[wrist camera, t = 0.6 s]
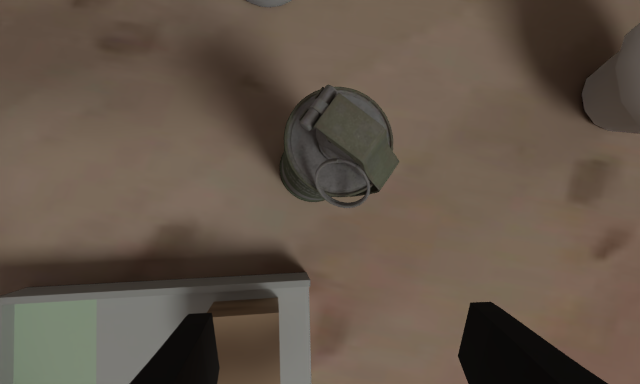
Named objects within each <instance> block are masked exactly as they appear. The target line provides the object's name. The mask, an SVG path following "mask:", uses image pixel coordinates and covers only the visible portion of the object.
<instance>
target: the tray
mask: <svg viewBox="0 0 640 384" xmlns="http://www.w3.org/2000/svg"><path fill="white" fill-rule="evenodd" d="M309 286H310V279H309V277H308V275H307V273H306V272H303V273H285V274H266V275H248V276H229V277H211V278H192V279H174V280H156V281H137V282H119V283H100V284H82V285H63V286H45V287H27V288H24V289H21V290H18V291H15V292H11V293H8V294H5V295H2V296H0V384H129V383H130V382H131V381H132V380H133V379H134V378H135V377H136V375H137V374H138V373H139V372H140V371H141V370H142V369H143V367H144V366H145V365H146V364H147V363H148V362H149V361H150V359H151V358H152V357H153V356H154V355H155V353H156V352H157V351H158V350H159V349H160V347H161V346H162V345H163V344H164V343H165V341H166V340H167V339H168V338H169V336H170V335H171V334H172V333H173V332H174V330H175V329H176V328H177V327H178V325H179V324H180V323H181V322H182V320H183V319H184V318H185V317H186V316H187V315H188V314H193V313H207V312H208V310H209V308H210V307H211V305H212V304H213V302H215V301H231V300H246V299H262V298H277V297H278V304H279V340H280V384H311V354H310V314H309Z"/></svg>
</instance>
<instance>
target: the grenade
mask: <svg viewBox="0 0 640 384" xmlns="http://www.w3.org/2000/svg"><path fill="white" fill-rule="evenodd" d="M398 163H399V160H398V159H397V157H396V156H395V154H394V153H393V135H392V130H391V127H390V124H389V121H388V119H387V117H386V115H385V113H384V112H383V111H382V109H381V108H380V107H379V105H378V104H377V103H376V102H375V101H373V100H372V99H371V98H370V97H368V96H367V95H365V94H363V93H361V92H359V91H357V90H354V89H350V88H345V87H332V86H331V85H327V86H326V87H325V88H324V87H322V88H321V89H320V90H318V91H315V92H313V93H311V94H309V95H308V96H306V97H305V98H304V99H303V100H301V101H300V102H299V103H298V104H297V106H296V107H295V108H294V110H293V111H292V113H291V115H290V116H289V119H288V121H287V124H286V127H285V132H284V153H283V155H282V157H281V161H280V175H281V179H282V181H283V184H284V185H285V187H286V188H287V190H288V191H289V192H290V193H291V194H292V195H294V196H295V197H297V198H299V199H301V200H304V201H308V202H319V201H323V200H326V201H328V202H329V203H331V204H333V205H335V206H338V207H343V208H351V207H356V206H358V205H360V204H362V203H363V202H364V201H365V200H366V199H367V197H368V196H369V194H372V193H377V192H379V191H380V190H381V188H382V187H383V185H384V184H385V182H386V181H387V179H388V178H389V176H390V175H391V173H392V172H393V170H394V169H395V168H396V166H397V165H398ZM360 195H365V196H364V197H363V198H362V199H360V200H358V201H356V202H351V203H344V202H340V201H337V200H335V199H333V198H331V197H348V196H349V197H353V196H360Z"/></svg>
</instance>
